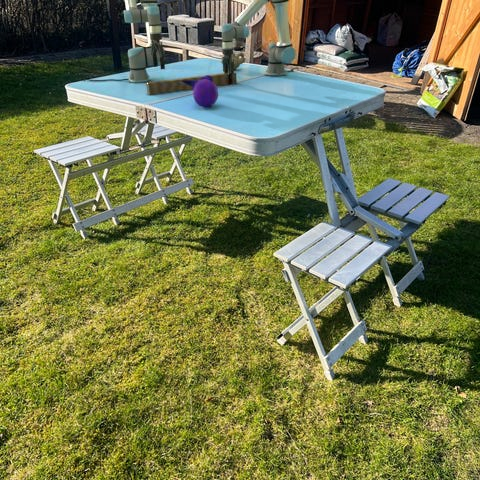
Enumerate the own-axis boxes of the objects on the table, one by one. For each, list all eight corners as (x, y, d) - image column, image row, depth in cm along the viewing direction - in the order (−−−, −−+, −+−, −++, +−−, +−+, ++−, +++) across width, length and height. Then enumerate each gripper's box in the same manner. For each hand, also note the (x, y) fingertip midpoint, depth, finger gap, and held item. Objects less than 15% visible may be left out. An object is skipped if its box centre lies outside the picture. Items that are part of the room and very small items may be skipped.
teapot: (225, 72, 364) (224, 52, 356) (218, 70, 372) (217, 50, 365) (247, 69, 373) (247, 50, 365) (240, 67, 381) (240, 48, 374)
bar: (149, 95, 298) (148, 83, 294) (147, 93, 301) (146, 82, 298) (236, 83, 325) (236, 72, 321) (233, 82, 329) (233, 71, 325)
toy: (206, 98, 286) (218, 113, 265) (179, 93, 279) (189, 108, 258) (211, 72, 278) (224, 86, 257) (184, 67, 271) (195, 81, 250)
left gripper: (168, 33, 282) (171, 69, 292) (154, 31, 301) (158, 65, 311) (156, 34, 279) (160, 70, 289) (143, 32, 298) (147, 66, 308)
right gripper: (238, 49, 308) (239, 84, 319) (226, 46, 321) (227, 80, 333) (228, 50, 304) (229, 85, 316) (217, 47, 318) (218, 81, 330)
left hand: (159, 67), depth 300 cm, fingers open, 13 cm apart
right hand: (228, 83), depth 324 cm, fingers closed on bar, 5 cm apart
